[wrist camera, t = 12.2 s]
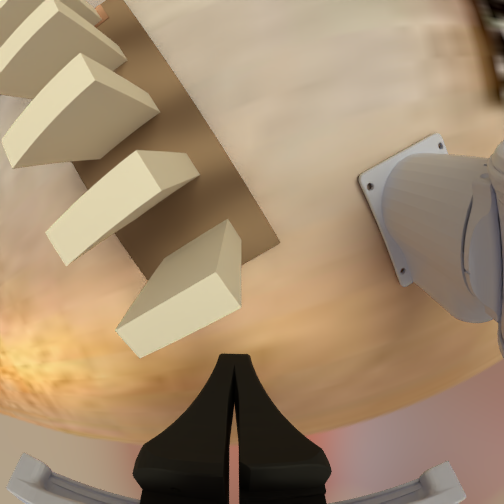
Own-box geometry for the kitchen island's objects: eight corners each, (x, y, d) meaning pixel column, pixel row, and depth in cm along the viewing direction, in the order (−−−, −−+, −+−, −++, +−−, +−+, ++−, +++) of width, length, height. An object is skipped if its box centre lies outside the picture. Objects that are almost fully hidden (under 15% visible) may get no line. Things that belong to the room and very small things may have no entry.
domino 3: (160, 112, 15) (95, 80, 7) (100, 159, 16) (12, 168, 8) (148, 93, 15) (80, 52, 7) (89, 140, 15) (1, 140, 7)
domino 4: (200, 174, 17) (161, 190, 8) (137, 218, 17) (66, 266, 9) (186, 153, 16) (136, 150, 8) (123, 198, 17) (45, 232, 9)
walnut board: (279, 240, 19) (280, 243, 18) (169, 303, 20) (167, 307, 19) (119, -5, 12) (117, -8, 11) (32, 70, 13) (28, 68, 13)
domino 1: (102, 19, 12) (39, -30, 4) (50, 64, 13) (-26, 40, 5) (95, 9, 12) (35, -40, 4) (45, 52, 12) (-27, 27, 4)
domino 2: (127, 60, 14) (58, 10, 6) (71, 107, 14) (-14, 92, 6) (118, 45, 13) (51, -5, 5) (64, 91, 14) (-19, 73, 6)
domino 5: (241, 239, 18) (241, 307, 10) (177, 277, 19) (139, 358, 11) (227, 218, 17) (215, 271, 9) (164, 258, 18) (114, 330, 10)
